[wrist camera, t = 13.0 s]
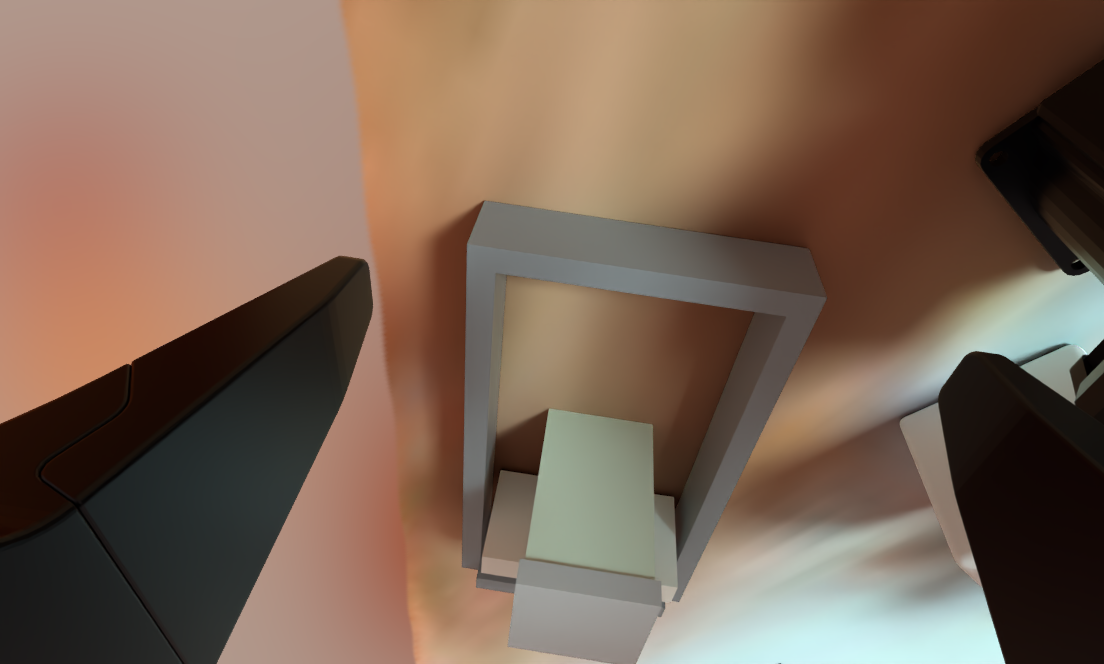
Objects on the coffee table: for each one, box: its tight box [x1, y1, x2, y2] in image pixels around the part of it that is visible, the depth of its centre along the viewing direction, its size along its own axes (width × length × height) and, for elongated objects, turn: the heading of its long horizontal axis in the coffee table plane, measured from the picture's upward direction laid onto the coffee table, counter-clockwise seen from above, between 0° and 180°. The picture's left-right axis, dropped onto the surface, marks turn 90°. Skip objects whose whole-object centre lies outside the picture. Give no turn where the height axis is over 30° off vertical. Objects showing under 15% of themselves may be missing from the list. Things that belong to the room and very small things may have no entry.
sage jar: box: [508, 408, 662, 664], centre depth 28 cm, size 5×5×9 cm
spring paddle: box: [481, 470, 678, 603], centre depth 34 cm, size 8×9×5 cm
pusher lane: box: [462, 201, 827, 617], centre depth 28 cm, size 21×12×4 cm, turn 174°
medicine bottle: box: [900, 345, 1088, 587], centre depth 23 cm, size 7×7×12 cm
